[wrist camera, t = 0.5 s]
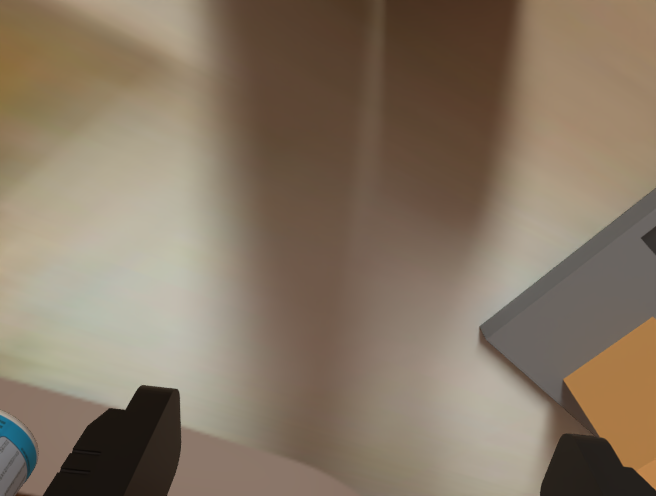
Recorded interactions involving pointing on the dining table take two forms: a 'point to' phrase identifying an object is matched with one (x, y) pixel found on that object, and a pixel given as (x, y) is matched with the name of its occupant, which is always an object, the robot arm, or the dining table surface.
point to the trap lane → (582, 305)
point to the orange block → (623, 397)
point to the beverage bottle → (15, 454)
